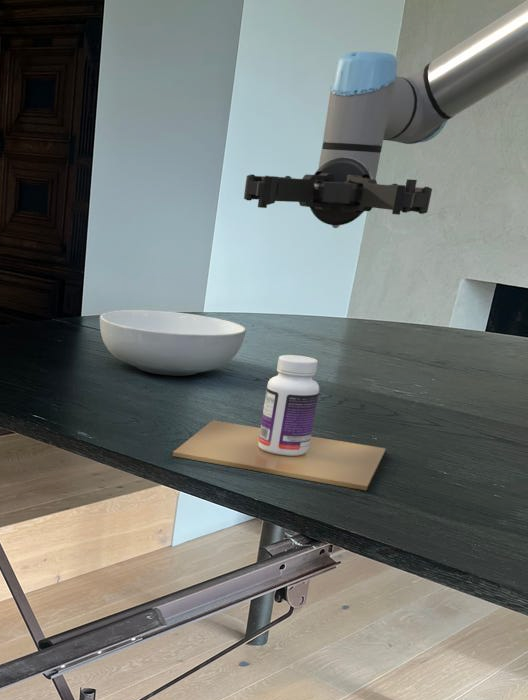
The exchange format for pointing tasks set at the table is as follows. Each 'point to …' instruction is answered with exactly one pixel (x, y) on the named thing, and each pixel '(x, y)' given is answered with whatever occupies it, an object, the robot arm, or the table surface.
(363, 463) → the cork mat
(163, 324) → the serving bowl
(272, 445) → the pill bottle
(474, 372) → the table surface
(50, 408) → the table surface
